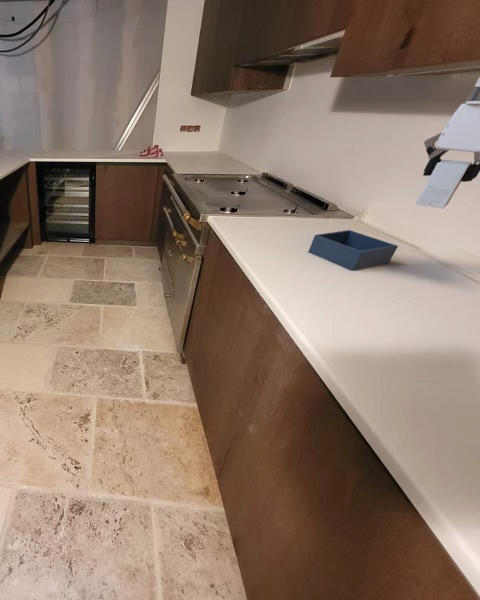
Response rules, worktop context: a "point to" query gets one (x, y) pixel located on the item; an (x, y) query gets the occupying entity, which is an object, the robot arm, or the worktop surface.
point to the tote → (352, 249)
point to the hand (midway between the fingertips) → (446, 177)
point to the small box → (442, 183)
